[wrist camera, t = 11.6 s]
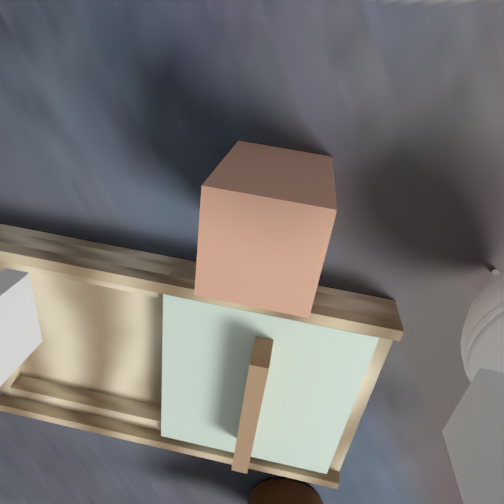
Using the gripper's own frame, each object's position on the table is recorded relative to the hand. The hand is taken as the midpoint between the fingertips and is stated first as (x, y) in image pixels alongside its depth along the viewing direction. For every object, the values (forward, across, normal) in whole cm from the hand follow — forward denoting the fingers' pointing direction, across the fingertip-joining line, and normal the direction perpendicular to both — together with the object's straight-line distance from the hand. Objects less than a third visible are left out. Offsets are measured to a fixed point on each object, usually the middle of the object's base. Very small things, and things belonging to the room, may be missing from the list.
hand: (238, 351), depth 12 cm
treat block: (+14, 0, 0) cm, 14 cm away
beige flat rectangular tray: (+14, -6, -15) cm, 21 cm away
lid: (+12, +1, -15) cm, 19 cm away
